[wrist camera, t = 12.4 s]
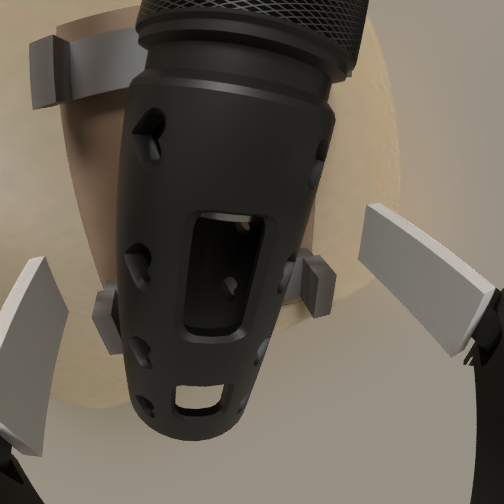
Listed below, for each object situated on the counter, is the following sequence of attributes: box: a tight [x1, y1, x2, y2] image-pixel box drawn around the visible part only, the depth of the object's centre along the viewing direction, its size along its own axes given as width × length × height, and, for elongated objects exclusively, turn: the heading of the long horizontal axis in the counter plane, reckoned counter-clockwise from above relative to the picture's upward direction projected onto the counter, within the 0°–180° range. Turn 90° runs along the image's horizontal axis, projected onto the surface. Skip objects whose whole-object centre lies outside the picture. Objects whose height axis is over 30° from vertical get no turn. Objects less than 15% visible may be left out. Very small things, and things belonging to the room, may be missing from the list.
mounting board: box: [29, 5, 352, 355], centre depth 19 cm, size 18×26×6 cm
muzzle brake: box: [116, 0, 369, 441], centre depth 15 cm, size 10×28×10 cm, turn 168°
